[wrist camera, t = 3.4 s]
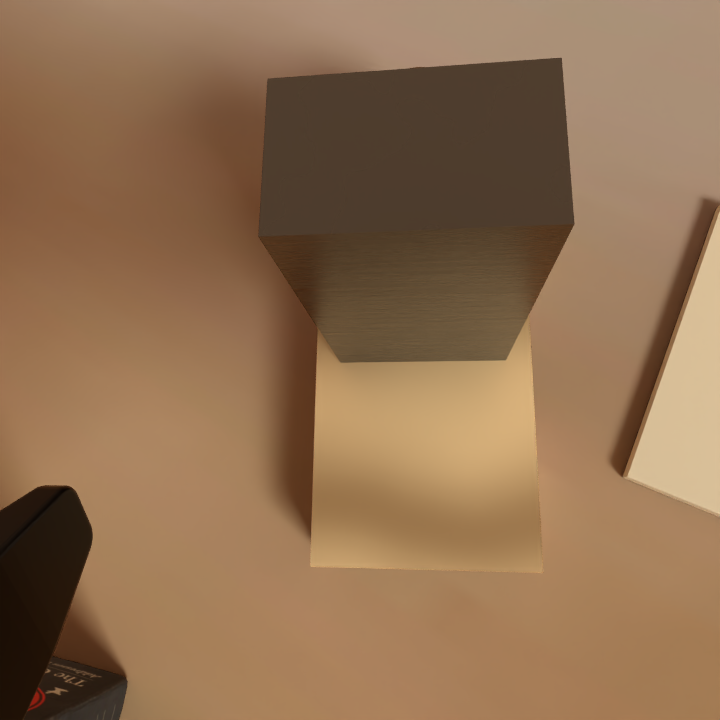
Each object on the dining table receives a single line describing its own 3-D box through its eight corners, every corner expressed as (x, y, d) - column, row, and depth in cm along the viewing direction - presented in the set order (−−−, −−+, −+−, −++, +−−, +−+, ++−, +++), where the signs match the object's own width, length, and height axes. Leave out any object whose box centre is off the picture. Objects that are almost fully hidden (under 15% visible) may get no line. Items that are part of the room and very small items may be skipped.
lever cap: (505, 360, 18) (574, 223, 9) (340, 362, 19) (258, 236, 10) (501, 266, 19) (562, 57, 10) (342, 271, 19) (267, 78, 11)
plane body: (529, 564, 19) (558, 582, 14) (325, 559, 20) (293, 574, 15) (508, 141, 22) (526, 50, 18) (335, 150, 23) (312, 66, 19)
